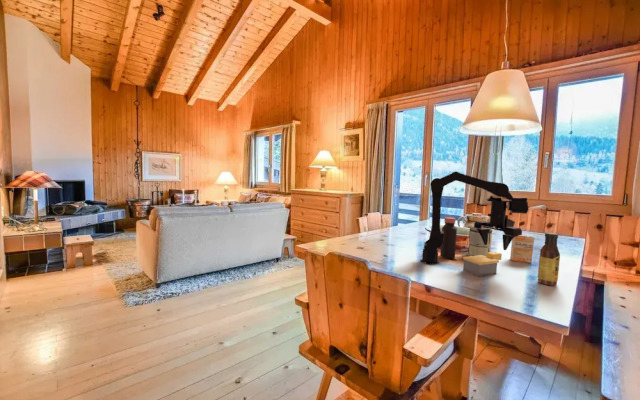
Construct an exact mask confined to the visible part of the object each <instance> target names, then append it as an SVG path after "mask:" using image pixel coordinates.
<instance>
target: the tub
mask: <svg viewBox="0 0 640 400" xmlns="http://www.w3.org/2000/svg"><path fill="white" fill-rule="evenodd" d="M497 266H498V263H492V264H485V265H478V264H475V263H472V262H470V261H467V260H464V259H463V267H462V270H463V272H466V273H468V274H471V275H474V276H477V277H478V278H479V277H487V276H494V275H497Z"/></svg>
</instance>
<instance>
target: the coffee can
mask: <svg viewBox="0 0 640 400" xmlns="http://www.w3.org/2000/svg"><path fill="white" fill-rule="evenodd" d="M492 235H493V229H491V230H490V231H489V233H488V242H487V245H484V242H483V240H482V238H481V235H480V234H479V232H478V230H476V228H475V227H474V226H473V227H469V235H468V250H467V256H477V255H483V256H486V257H487V253H488V252H491V250H492V249H491V247H492Z"/></svg>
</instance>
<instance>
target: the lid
mask: <svg viewBox="0 0 640 400" xmlns="http://www.w3.org/2000/svg"><path fill="white" fill-rule="evenodd" d="M502 255H503V254H502V253H501V252H497V251H490V252H488V253H487V257H486V256H483V255H477V256H469V255H467V256H463V258H462V259H463V261H464V260H467V261H470V262H472V263H475V264H478V265H485V264H492V263H497V264H498V263H499V262H500V261H501V260H502V258H503V257H502Z"/></svg>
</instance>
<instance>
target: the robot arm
mask: <svg viewBox="0 0 640 400" xmlns="http://www.w3.org/2000/svg"><path fill="white" fill-rule="evenodd" d="M455 181H456V182H460V183H462V184H466V185H469V186H470V185H471V186H472V187H477V188H480V189H482V190H484V191H486V192H488V193H490V194H492V195H495V196H496V197H494V196H492V195H489V197H488V198H486V201H487V202H490V211H489V212H490V213H488V214H487V216H488V217H489V221H485V220H477V221H475V222H474V224H473V227H475V228H476V230H478V232H479V234H480V235H481V238H482V240H483V242H484V245H487V242H488V233H489V231H490V230H494V231H495V230H496V231H500V232H503V233H504V234H502V248H503V251H507V249H508V248H509V246H510V243H512V239H513V238H514V237H518V235H523V230H522V229H521V228H520V227H517V226H516V227H515V224H516V221H514V220H512V219H510V218H509V215H508V214H506V213H507V211H509V213H510V214H521V215H522V214H523V215H525V214H526V215H527V213H528V211H529V202H528V198H527V197H513V195H512V194H511V193H510V188H509V185H507V184H506V183H504V182H503V183H502V182H495V181H489V180H484V179H481V178H478V177H474V176H472V175H471V176H470V175H468V174H464V173H462V172H459V171H453V172H451V173H450V174H449V173H448V174H447V175H445V176H443V177H440V178H438V177H436V178H432V180H431V182H430V185H429V186H430V191H431V196H432V197H431V198H432V203H431V205H432V207H431V208H432V209H431V210H432V211H431V228H430V232H429V236H428V237H429V238H428V239H427V240H426V241H424V244H423V248H422V257H421V259H419V261H420V262H422V263H424V264H427V265H430V266H431V265H436V264H437V265H438V264H440V262H439V259H438V258H439V251H438V249H439V248H441V245H442V242H444V239H443V236H444V231H442V230H441V207H442V205H441V204H442V195H443V193H444V192H443V191H444V187H445V186H448V185H449V184H451V183H453V182H455ZM502 198H503V199H504V200H503V199H502ZM505 199H506V200H505Z"/></svg>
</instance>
